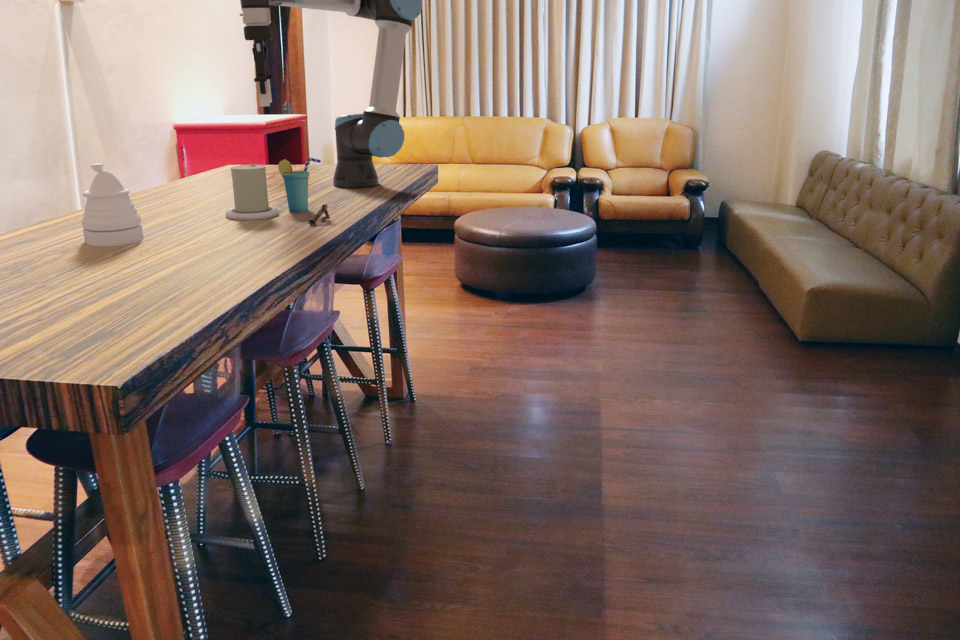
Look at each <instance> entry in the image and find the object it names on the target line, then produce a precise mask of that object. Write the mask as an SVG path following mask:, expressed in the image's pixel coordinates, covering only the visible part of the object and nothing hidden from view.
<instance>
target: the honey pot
mask: <svg viewBox="0 0 960 640" xmlns="http://www.w3.org/2000/svg"><path fill="white" fill-rule="evenodd" d="M90 167H91V169H92V170H93V171H94V172H95V173H96V175H95V176H94V178H93V180H92V182H91V183H90V184H91V185H90V188H89V189H88V190H85V191H83V193H82V196H83V197H84V198H86V203H85V205H84V207H83V208H84V212H83V218H82V219H81V224H82V228H83V229H82V231H83V238H84V243H85V245H87V246H91V247H101V248H102V247H116V246H117V247H118V246H126V245H132V244H135V243H139V242H141V241H142V240H143V241H144V232H143V224H142V218H141V214H139V213H138V209H137V208H136V207H135V202H133V201H132V199H131V196H129V194H130V190H129V189H128V188H125V187H124V185H123V183H122V182H121V180H120V179H119V178H118V177H117V176H116V175H115V174H114V173H113V172H112V171H110V170H108V169H103V168H104V163H102V162H101V163H90Z"/></svg>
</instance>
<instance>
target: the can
mask: <svg viewBox="0 0 960 640" xmlns="http://www.w3.org/2000/svg"><path fill="white" fill-rule="evenodd" d="M230 171H231V180H232V181H231V182H232V188H233V199H234V207H235V211H237V212H260V211H265V210H268V209H269V206H270V205H269V198H268V185H267V184H268V183H267V170H266V165H262V164H253V163H252V164H251V163H250V164H242V165H235V166H231V167H230Z"/></svg>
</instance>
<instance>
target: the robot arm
mask: <svg viewBox="0 0 960 640" xmlns="http://www.w3.org/2000/svg"><path fill="white" fill-rule="evenodd" d="M240 6H241V12H239V16H240V17H242V23H243V24H244V25H245V26H243V35H244V40H245V41H253V42H254V43H253V45H252V47H251V48H252V49H251V51H252V55H253V62H254V63H255V65H254V66H255V75H256V76H255V77H254V78H253V80H254V83H256V84H257V85H256V87H257V94H258V103H259V107H271V103H273V98H272V90H271V89H272V88H271V81H270V80H272V79H273V76H272V74H270V72H269V63H268V61H269V55H268V53H269V51H268V46H266V43H265V41H268V40H269V41H271V40H272V39H273V29H272V28H273V27H272V26H271V25H270V24H271V23H272V20H271V18H272V17H271V9H270V6H278V7H279V6H281V7H288V8H290V7H291V8H298V9H309V10H319V11H320V10H321V11H330V12H339V13H340V12H341V13H345V14H346V15H347V16H349V17H355V18H361V19H367V20H371V21H374V23H375V25H376V26H377V28H378V34H377V35H378V36H377V42H376V44H377V45H376V49H375V50H376V52H375V58H374V59H375V60H374V66H373V67H374V68H373V73H372V79H371V80H372V81H371V87H370V88H371V90H370V95H369V96H370V97H369V105H368V107H367V108H365V109H364V110H363V112H362V113H354V114H345V115H339V116H337V117H336V118H335V120H334V130H335V144H336V156H337V157H336V160H337V161H336V162H337V163H336V166H335V170H334V175H333V179H332V180H333V181H332V182H333V186H334V187H336V188H337V187H338V188H346V189H347V188H348V189H349V188H351V189H352V188H357V189H358V188H359V189H360V188H368V187H369V188H370V187H375V186H377V185H379V182H380V181H379V176H378V173H377V170H376V167H375V164H374V163H373V157H376V158H390V157H393V156H395V155H396V154H397V153H399V151H400V150H401V149H402V147H403V145H404V142H405V130H404V129H403V126H402V124H401V123H400V118H401V117H400V115H399V113H398V112H397V107H398V106H397V105H398V100H399V99H398V98H399V92H400V91H399V90H400V83H401V76H402V67H403V60H404V53H405V45H406V39H407V37H406V36H407V34H408V33H409V32H410V31H411V30H412V29H413V23H414V22H413V21H414V20H415V19H416V18H418V17H419V16H420V15H421V12H422V11H423V0H240Z"/></svg>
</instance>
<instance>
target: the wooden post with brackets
mask: <svg viewBox="0 0 960 640" xmlns="http://www.w3.org/2000/svg"><path fill="white" fill-rule="evenodd" d="M323 214H324V215H325V216H323ZM321 217H322V218H321ZM319 218H320V222H321V223H325V222H326V221H328V220H330V219H331V217H330V213H329V212H328V204H327V203H325V204H322V205H321V208H320V210H318V211H317V212H316V213H315V215H314V216H313V217H311V218H308V219H307V221H308V223H309V225H310V226H317V221H318V219H319Z"/></svg>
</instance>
